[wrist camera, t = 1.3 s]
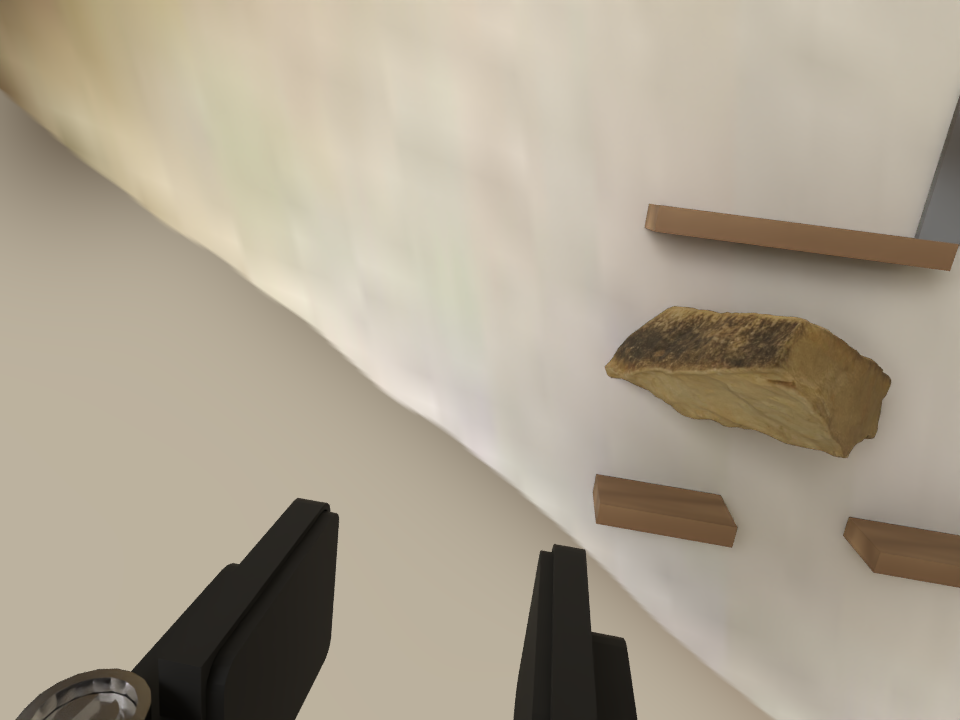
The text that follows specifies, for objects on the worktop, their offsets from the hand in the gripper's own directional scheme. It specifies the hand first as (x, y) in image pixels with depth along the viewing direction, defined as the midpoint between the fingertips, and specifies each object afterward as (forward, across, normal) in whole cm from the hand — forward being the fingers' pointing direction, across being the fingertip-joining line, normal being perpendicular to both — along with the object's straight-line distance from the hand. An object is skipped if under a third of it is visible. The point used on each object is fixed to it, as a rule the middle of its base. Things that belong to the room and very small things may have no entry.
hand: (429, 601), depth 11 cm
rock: (+20, -10, 0) cm, 22 cm away
